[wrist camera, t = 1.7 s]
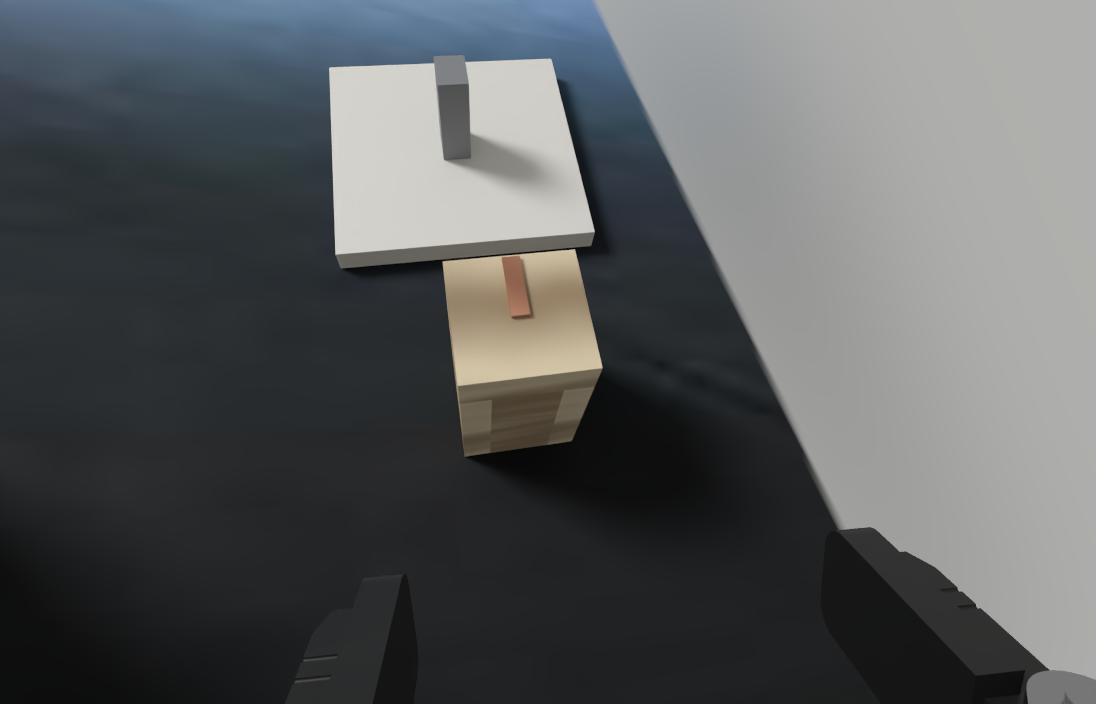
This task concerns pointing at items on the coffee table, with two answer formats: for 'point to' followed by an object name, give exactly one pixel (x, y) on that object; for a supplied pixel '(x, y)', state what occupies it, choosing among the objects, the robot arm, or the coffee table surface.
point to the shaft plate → (452, 162)
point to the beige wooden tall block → (520, 349)
